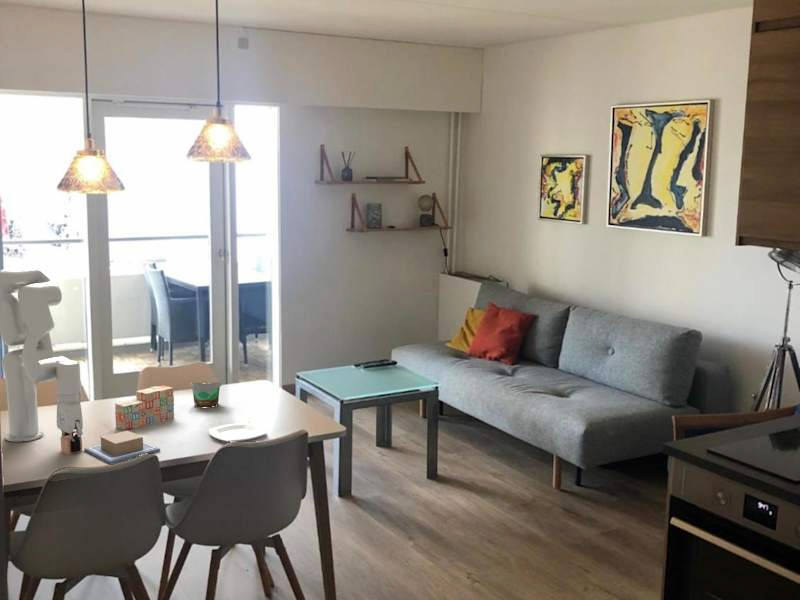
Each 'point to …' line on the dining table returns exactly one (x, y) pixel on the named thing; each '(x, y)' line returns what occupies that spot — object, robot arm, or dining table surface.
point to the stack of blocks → (145, 408)
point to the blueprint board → (120, 447)
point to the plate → (237, 432)
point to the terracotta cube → (68, 444)
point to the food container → (206, 393)
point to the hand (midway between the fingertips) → (71, 449)
